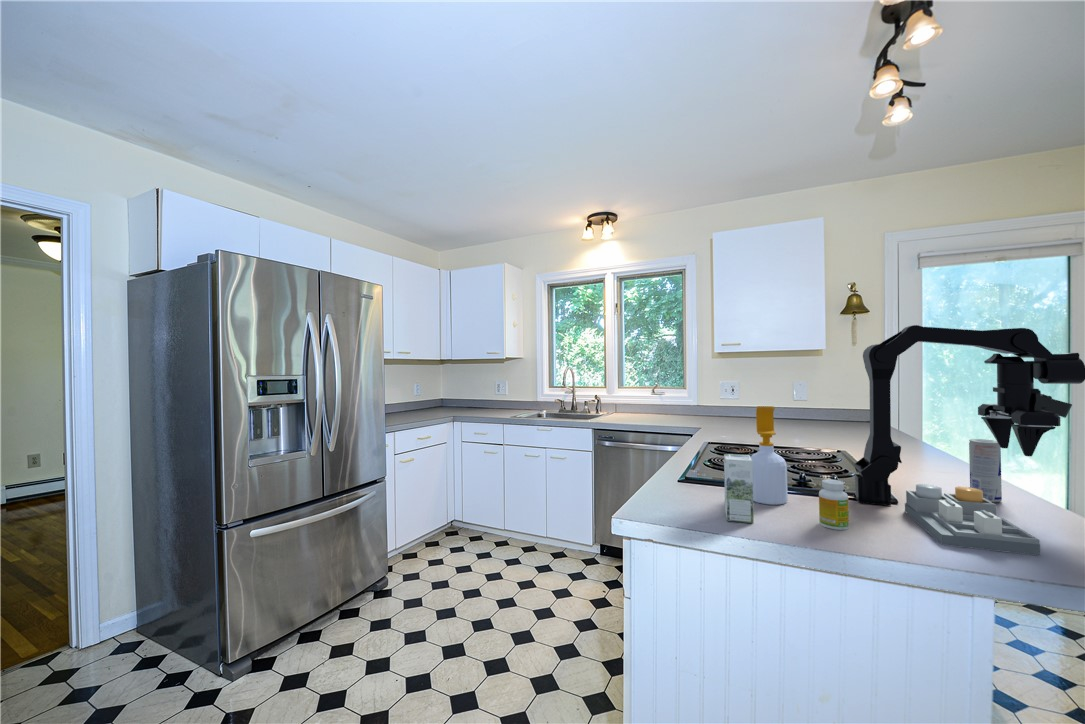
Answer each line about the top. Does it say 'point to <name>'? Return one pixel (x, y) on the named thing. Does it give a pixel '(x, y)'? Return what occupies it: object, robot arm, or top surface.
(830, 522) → the supplement bottle
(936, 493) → the button
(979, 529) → the slider
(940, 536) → the panel
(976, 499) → the button
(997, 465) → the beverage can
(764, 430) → the soap bottle
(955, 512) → the slider
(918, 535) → the top surface
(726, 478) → the syrup box
